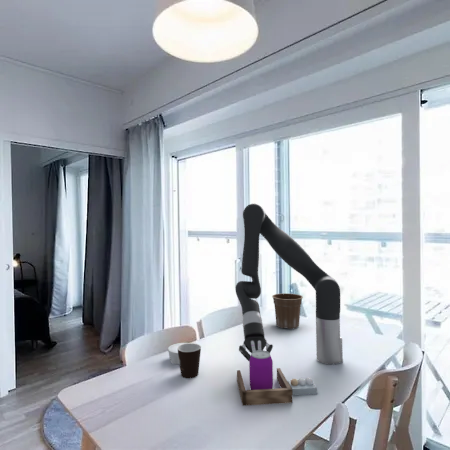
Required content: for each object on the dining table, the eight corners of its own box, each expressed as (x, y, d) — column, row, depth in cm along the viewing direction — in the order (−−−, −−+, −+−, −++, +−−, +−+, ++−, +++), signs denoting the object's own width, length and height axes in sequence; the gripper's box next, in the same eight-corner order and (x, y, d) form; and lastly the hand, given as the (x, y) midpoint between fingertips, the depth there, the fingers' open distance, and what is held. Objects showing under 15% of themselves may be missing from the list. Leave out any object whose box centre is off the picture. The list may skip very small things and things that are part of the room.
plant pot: (286, 319, 188) (285, 291, 188) (309, 326, 175) (308, 296, 175) (266, 325, 177) (266, 295, 178) (289, 332, 165) (288, 300, 165)
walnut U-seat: (280, 379, 115) (279, 368, 115) (292, 402, 100) (292, 389, 100) (236, 381, 114) (236, 370, 114) (242, 405, 98) (242, 392, 99)
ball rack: (310, 384, 111) (310, 373, 111) (316, 393, 105) (316, 382, 105) (287, 386, 110) (287, 374, 110) (292, 395, 104) (292, 383, 104)
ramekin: (194, 366, 127) (194, 352, 127) (165, 366, 127) (165, 353, 127) (196, 354, 139) (196, 342, 139) (170, 355, 139) (170, 342, 139)
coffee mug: (197, 380, 115) (197, 352, 115) (174, 379, 117) (174, 351, 117) (206, 366, 126) (205, 341, 126) (184, 365, 128) (184, 339, 128)
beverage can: (268, 383, 112) (267, 348, 112) (276, 394, 105) (276, 357, 105) (246, 385, 111) (246, 350, 111) (254, 397, 103) (253, 359, 103)
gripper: (236, 322, 121) (240, 369, 109) (271, 320, 122) (279, 367, 110) (235, 331, 126) (239, 377, 114) (268, 330, 127) (276, 375, 115)
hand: (259, 372), depth 112 cm, fingers closed
